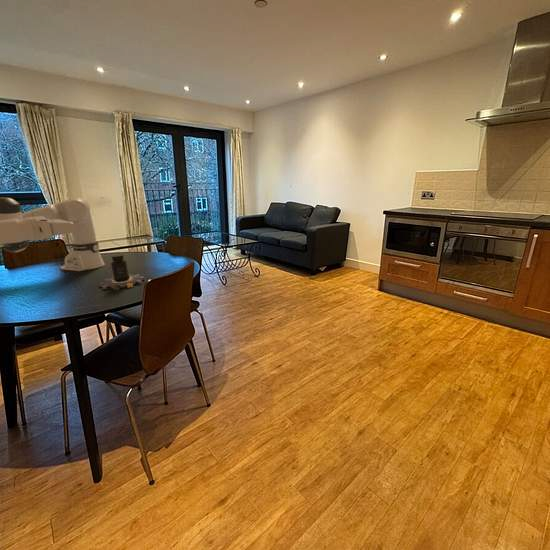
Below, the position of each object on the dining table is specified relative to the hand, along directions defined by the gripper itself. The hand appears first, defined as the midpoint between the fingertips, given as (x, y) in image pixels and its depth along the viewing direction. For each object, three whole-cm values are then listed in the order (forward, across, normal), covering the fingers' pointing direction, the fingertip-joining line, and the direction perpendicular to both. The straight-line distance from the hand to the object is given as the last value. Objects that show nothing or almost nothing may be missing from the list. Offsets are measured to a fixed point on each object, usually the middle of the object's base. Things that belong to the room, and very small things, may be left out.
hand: (80, 223), depth 126 cm
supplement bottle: (+12, 0, -28) cm, 31 cm away
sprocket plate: (+12, 0, -30) cm, 32 cm away
